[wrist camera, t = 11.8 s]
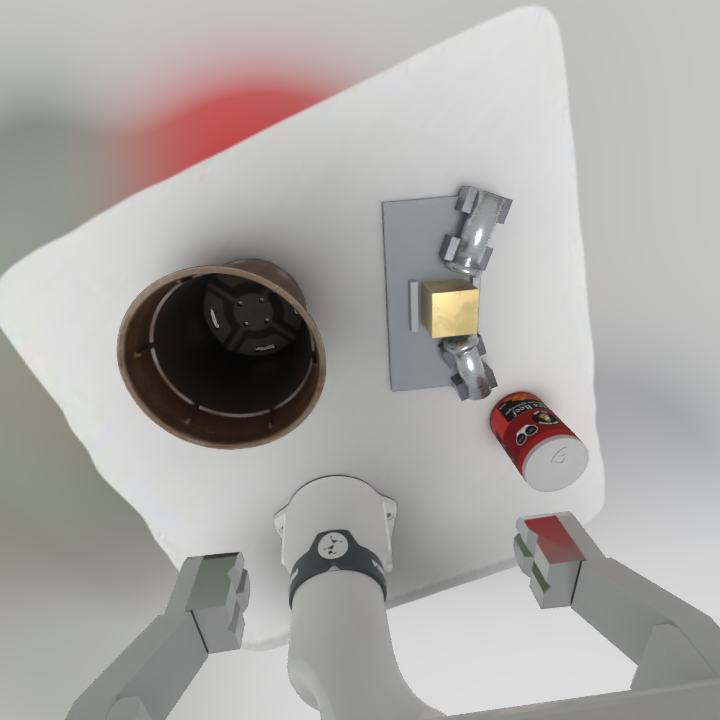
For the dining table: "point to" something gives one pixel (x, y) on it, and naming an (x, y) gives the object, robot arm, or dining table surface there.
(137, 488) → the dining table surface
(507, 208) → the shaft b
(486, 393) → the shaft
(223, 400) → the plant pot
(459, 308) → the golden yellow cube
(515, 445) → the canned food
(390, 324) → the grey base plate
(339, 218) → the dining table surface
